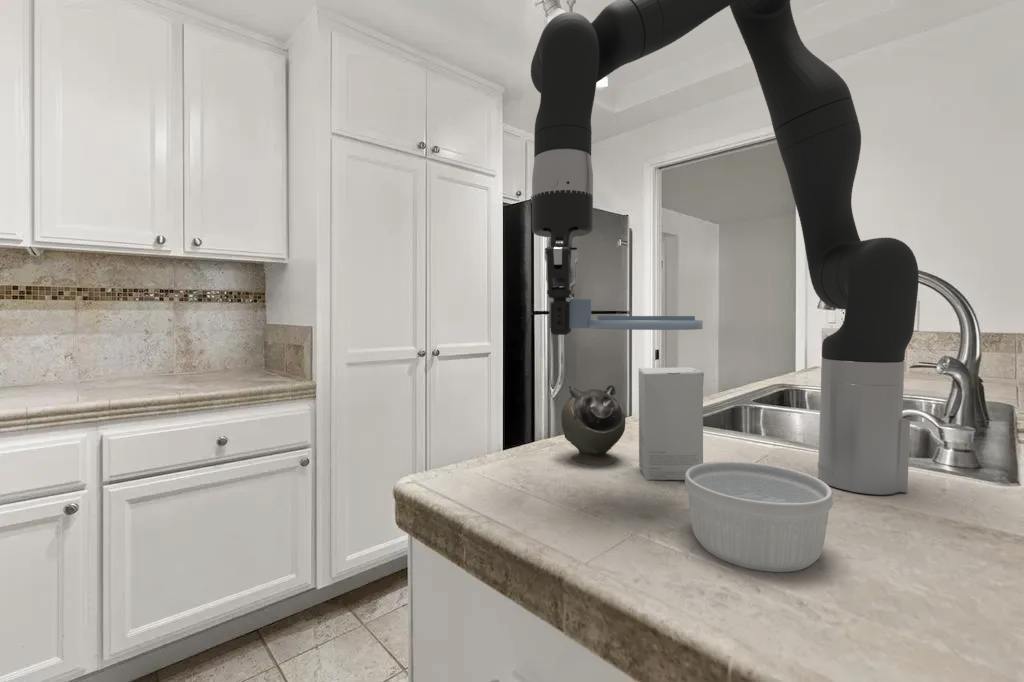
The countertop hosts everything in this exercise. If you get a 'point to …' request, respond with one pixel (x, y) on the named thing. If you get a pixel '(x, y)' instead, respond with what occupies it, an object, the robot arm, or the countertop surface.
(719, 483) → the ramekin
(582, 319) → the lid
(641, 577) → the countertop surface
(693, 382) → the skincare box
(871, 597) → the countertop surface
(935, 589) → the countertop surface
